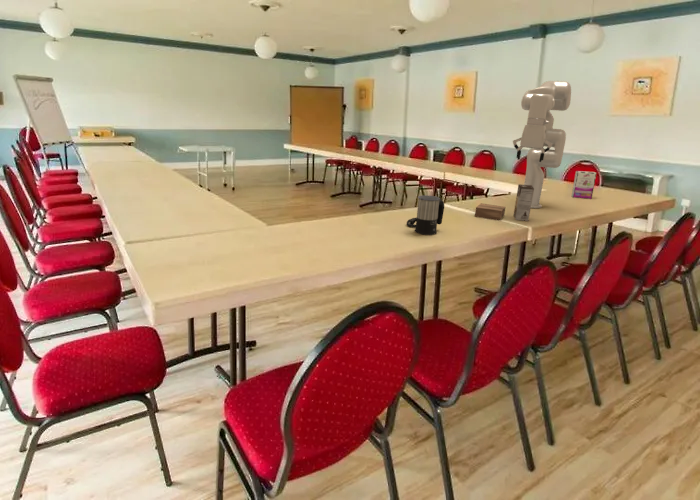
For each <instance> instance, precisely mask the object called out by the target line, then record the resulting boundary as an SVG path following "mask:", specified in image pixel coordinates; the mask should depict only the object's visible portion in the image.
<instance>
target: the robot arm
mask: <svg viewBox="0 0 700 500" xmlns="http://www.w3.org/2000/svg"><path fill="white" fill-rule="evenodd" d="M571 97H572V85H571V84H570V82H569V81H564V80H563V81H562V80H561V81H559V80H548V81H544V82H543V83H542V84H541V85H540V86H539V87H536V88H532V89H528V90H527V91H526V92H525V93H524V94H523V96H522V99H521V108H522V109H523V110H524V111H528V114H527V121H526V124H524V127H523V129H522V134H521V137H519V138H516V139H514V140H512V144H513V147H514V148H515V150H516V151H517V152H516V159H517V160H518V161H519V160H520V159H521V154H522V149H523V148H527V149H529V151H528V152H527V154H526V171H525V175H524V176H525V178H524V183H523V185H532V187H533V188H534V192H533V197H532V203H531V208H530V209H541V208H542V207H543V205H542V204H541V202H540V200H541V196H542V190H543V184H544V178H545V173H544V171H543V169H542V168H550V169H558V168H559V167H560V166H561V164H562V160H563V155H564V150H565V145H566V139H567V133H566V132H565V130H564V129H561V128H553V126H554V122H555V118H554V116H553V114H552V113H551V111H558V112H560V111H561V112H563V111H568V109H569V107H570V105H571ZM518 142H520V146H519V145H518V144H517V143H518ZM544 147H546V148H544ZM551 148H554V149H551Z"/></svg>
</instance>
